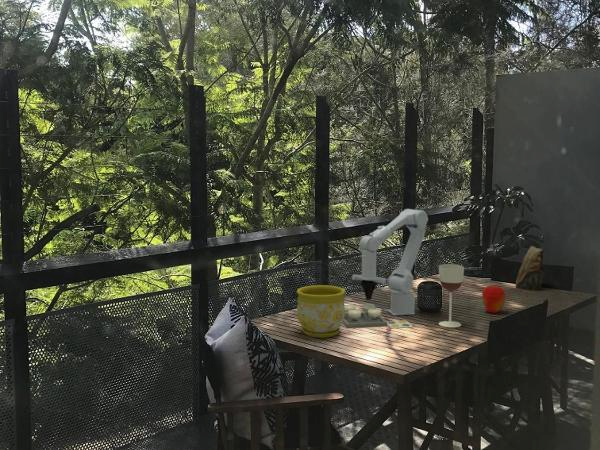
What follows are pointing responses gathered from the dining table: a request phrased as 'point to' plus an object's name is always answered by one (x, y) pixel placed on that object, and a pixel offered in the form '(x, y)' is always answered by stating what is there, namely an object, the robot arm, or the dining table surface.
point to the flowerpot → (321, 310)
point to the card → (398, 324)
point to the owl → (531, 270)
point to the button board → (363, 321)
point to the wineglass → (450, 285)
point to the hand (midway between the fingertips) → (368, 299)
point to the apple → (493, 298)
